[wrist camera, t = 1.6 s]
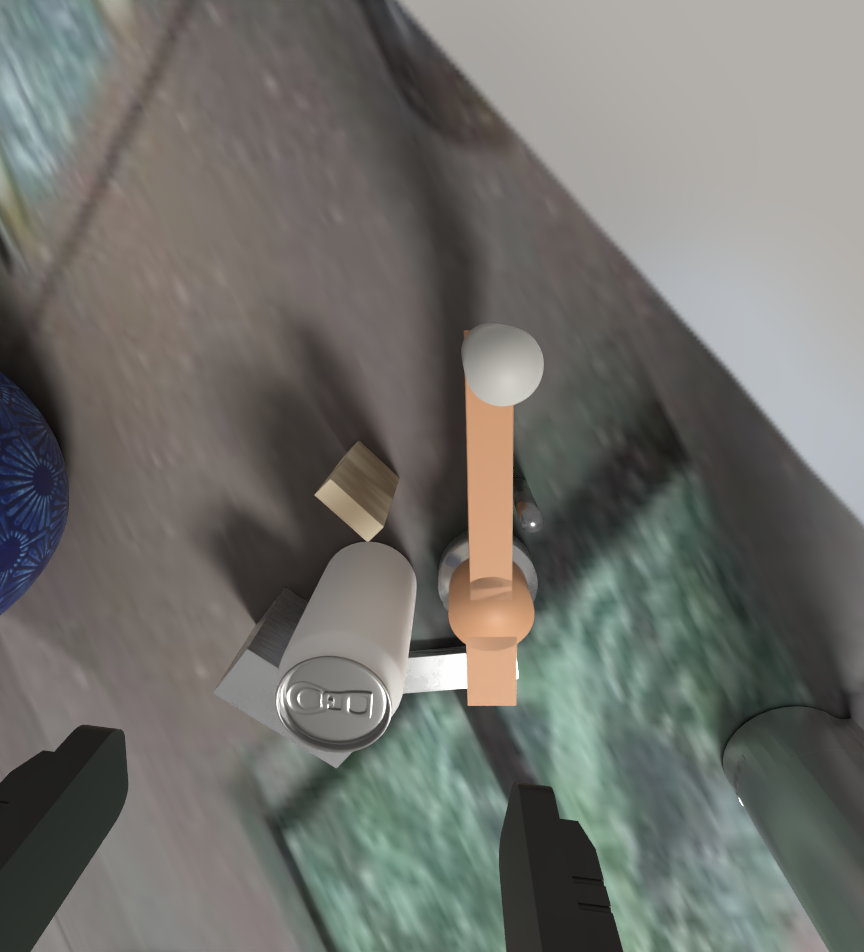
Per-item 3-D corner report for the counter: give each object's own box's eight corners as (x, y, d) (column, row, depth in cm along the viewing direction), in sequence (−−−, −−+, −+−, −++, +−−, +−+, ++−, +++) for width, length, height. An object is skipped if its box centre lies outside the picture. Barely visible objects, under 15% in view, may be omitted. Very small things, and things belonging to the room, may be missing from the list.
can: (326, 534, 35) (264, 642, 23) (420, 543, 35) (405, 656, 23) (324, 616, 37) (266, 753, 25) (414, 624, 37) (396, 766, 25)
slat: (399, 477, 33) (383, 527, 26) (386, 490, 34) (367, 542, 26) (358, 440, 33) (330, 478, 25) (346, 452, 33) (314, 494, 25)
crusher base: (526, 476, 33) (545, 518, 26) (542, 674, 37) (561, 752, 31) (225, 509, 34) (170, 557, 28) (275, 696, 39) (238, 775, 32)
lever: (525, 672, 34) (555, 819, 24) (451, 673, 35) (451, 819, 25) (531, 319, 28) (577, 322, 18) (439, 323, 28) (432, 329, 18)
